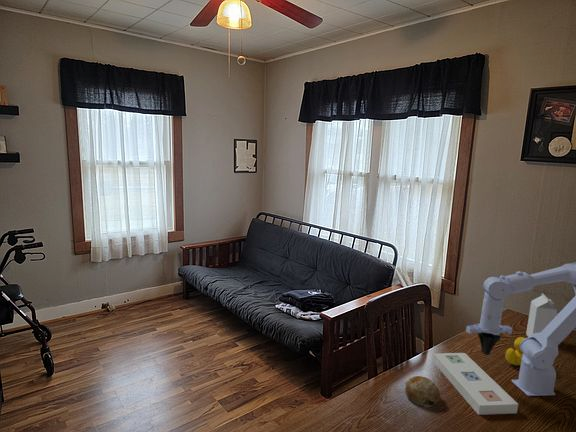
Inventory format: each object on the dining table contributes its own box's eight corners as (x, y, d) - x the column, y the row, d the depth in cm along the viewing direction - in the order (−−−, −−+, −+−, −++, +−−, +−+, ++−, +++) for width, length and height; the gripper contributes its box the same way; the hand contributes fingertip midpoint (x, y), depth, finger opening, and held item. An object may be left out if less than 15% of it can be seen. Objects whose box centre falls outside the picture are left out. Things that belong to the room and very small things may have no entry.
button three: (472, 379, 125) (473, 372, 124) (479, 386, 121) (480, 379, 121) (461, 379, 124) (462, 372, 124) (468, 387, 121) (469, 379, 120)
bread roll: (412, 416, 112) (421, 402, 108) (396, 384, 120) (404, 370, 116) (440, 411, 115) (450, 397, 110) (422, 380, 123) (431, 366, 118)
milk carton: (531, 342, 153) (538, 298, 149) (525, 334, 159) (532, 291, 156) (551, 345, 151) (558, 300, 147) (545, 337, 157) (552, 294, 154)
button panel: (463, 360, 137) (464, 352, 137) (516, 413, 110) (518, 404, 109) (432, 361, 136) (433, 353, 135) (478, 414, 108) (479, 405, 108)
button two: (456, 362, 135) (457, 355, 134) (462, 368, 131) (463, 362, 130) (445, 362, 134) (446, 356, 134) (451, 369, 130) (452, 362, 130)
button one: (491, 398, 115) (492, 391, 115) (499, 407, 111) (501, 399, 111) (479, 399, 115) (480, 391, 114) (487, 408, 111) (488, 400, 110)
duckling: (523, 357, 140) (527, 332, 139) (536, 365, 135) (540, 340, 134) (499, 361, 137) (503, 336, 135) (512, 370, 132) (516, 343, 130)
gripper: (477, 319, 115) (471, 360, 118) (521, 320, 117) (514, 359, 119) (464, 310, 122) (459, 348, 125) (506, 310, 124) (499, 348, 126)
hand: (485, 353), depth 123 cm, fingers closed
